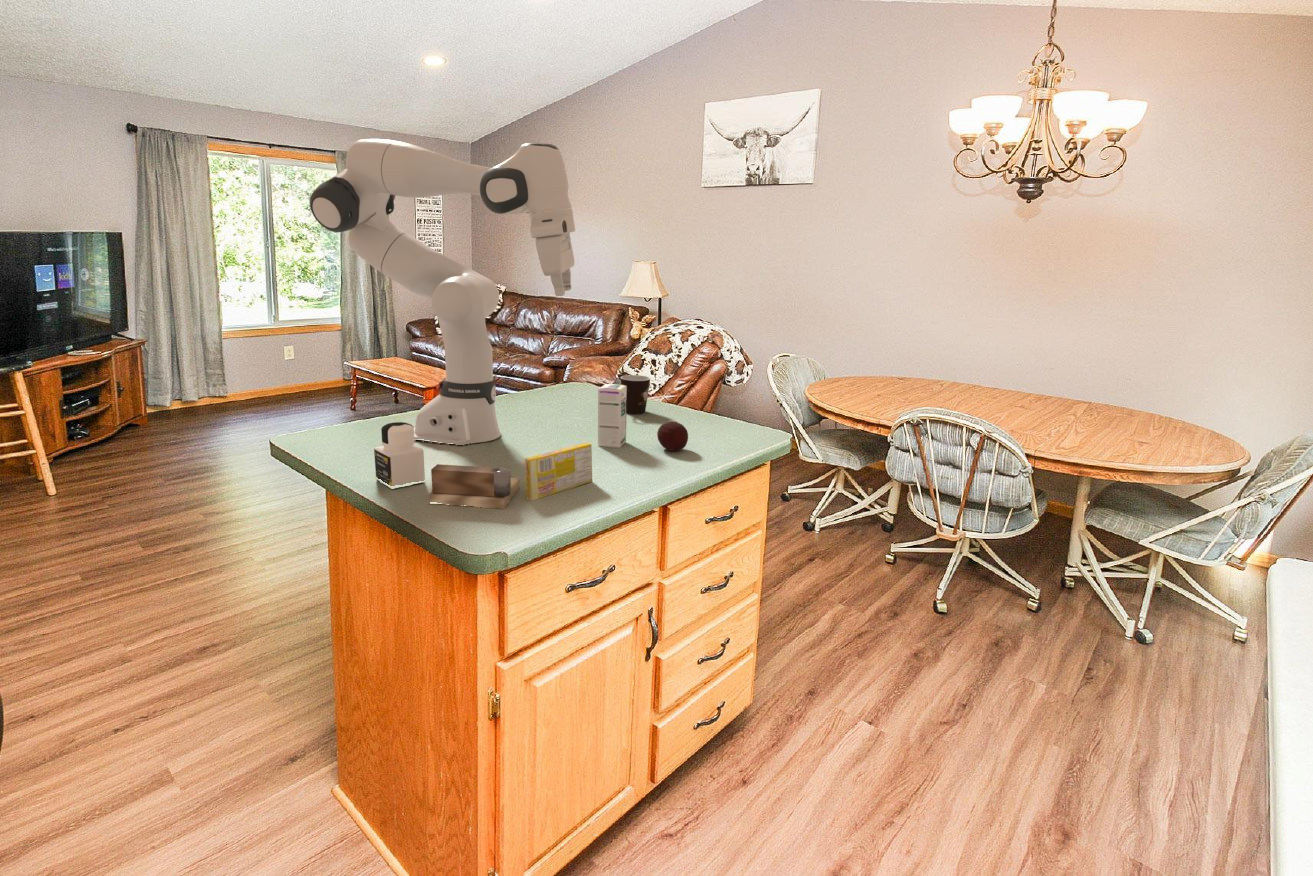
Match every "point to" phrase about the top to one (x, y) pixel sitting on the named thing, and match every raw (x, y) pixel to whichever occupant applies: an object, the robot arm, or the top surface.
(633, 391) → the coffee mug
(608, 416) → the syrup box
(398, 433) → the medicine bottle
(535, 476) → the candy box
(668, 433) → the dark red plum
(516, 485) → the stool seat
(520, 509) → the top surface
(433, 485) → the folding leg
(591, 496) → the top surface
